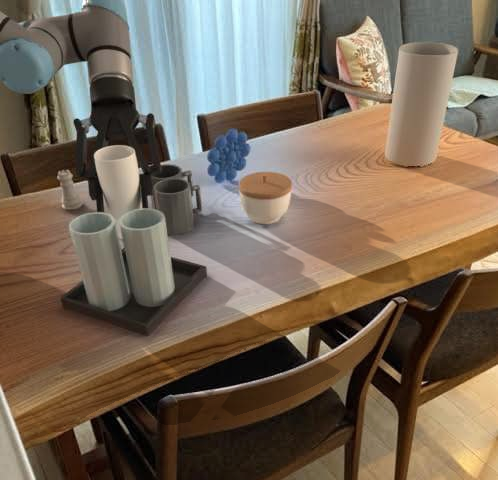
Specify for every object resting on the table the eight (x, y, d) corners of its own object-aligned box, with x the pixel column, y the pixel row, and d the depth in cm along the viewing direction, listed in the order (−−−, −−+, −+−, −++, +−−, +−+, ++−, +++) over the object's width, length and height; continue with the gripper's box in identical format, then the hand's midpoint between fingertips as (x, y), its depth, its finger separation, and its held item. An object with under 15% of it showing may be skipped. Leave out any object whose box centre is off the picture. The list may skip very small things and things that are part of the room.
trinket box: (284, 202, 118) (285, 161, 112) (296, 226, 109) (297, 183, 104) (236, 207, 116) (234, 166, 110) (244, 232, 108) (242, 189, 102)
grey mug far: (162, 222, 112) (156, 181, 107) (147, 209, 117) (141, 170, 111) (202, 209, 116) (198, 169, 111) (186, 197, 121) (182, 158, 115)
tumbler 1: (81, 307, 91) (58, 228, 81) (107, 285, 95) (88, 208, 86) (114, 318, 88) (95, 238, 79) (138, 295, 93) (123, 217, 83)
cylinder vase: (440, 153, 136) (463, 44, 120) (429, 172, 128) (451, 58, 112) (392, 145, 141) (407, 40, 125) (378, 163, 132) (392, 52, 117)
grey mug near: (169, 239, 107) (163, 197, 101) (153, 224, 112) (147, 184, 106) (210, 225, 111) (207, 184, 105) (194, 211, 116) (190, 172, 110)
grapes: (240, 168, 132) (238, 119, 125) (256, 177, 128) (255, 127, 120) (199, 180, 127) (195, 130, 120) (214, 191, 123) (210, 139, 115)
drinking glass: (103, 233, 97) (85, 152, 87) (135, 220, 100) (120, 141, 91) (124, 247, 93) (107, 164, 84) (156, 233, 97) (143, 152, 87)
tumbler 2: (126, 302, 91) (109, 224, 82) (150, 281, 96) (136, 204, 86) (160, 313, 89) (147, 233, 79) (183, 291, 93) (173, 213, 84)
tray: (62, 307, 91) (59, 298, 89) (128, 253, 103) (127, 244, 102) (148, 336, 84) (146, 326, 83) (207, 275, 97) (206, 266, 96)
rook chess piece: (72, 213, 117) (63, 178, 111) (58, 208, 118) (48, 173, 113) (87, 204, 119) (79, 170, 114) (73, 200, 121) (64, 166, 116)
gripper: (170, 93, 97) (183, 217, 95) (59, 101, 96) (69, 227, 93) (167, 70, 90) (181, 203, 88) (46, 78, 88) (57, 214, 86)
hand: (123, 215), depth 91 cm, fingers closed on drinking glass, 7 cm apart
